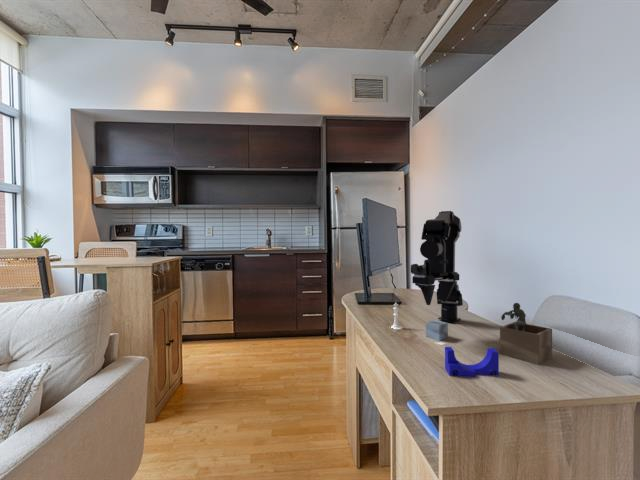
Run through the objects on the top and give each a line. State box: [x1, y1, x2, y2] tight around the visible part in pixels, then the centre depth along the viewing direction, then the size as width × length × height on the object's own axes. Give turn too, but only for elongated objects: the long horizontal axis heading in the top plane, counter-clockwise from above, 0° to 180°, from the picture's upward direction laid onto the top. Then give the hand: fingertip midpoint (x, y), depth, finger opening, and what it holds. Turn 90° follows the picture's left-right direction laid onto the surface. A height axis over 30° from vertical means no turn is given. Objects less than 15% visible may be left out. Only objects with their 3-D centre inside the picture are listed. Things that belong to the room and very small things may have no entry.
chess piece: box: [390, 302, 403, 330], centre depth 123 cm, size 5×5×10 cm
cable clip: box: [444, 346, 500, 378], centre depth 83 cm, size 12×4×6 cm, turn 83°
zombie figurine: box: [500, 302, 528, 332], centre depth 99 cm, size 5×7×15 cm
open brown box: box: [499, 321, 553, 366], centre depth 95 cm, size 10×10×8 cm
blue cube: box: [425, 319, 449, 342], centre depth 111 cm, size 5×5×5 cm
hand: (436, 303), depth 111 cm, fingers open, 9 cm apart
